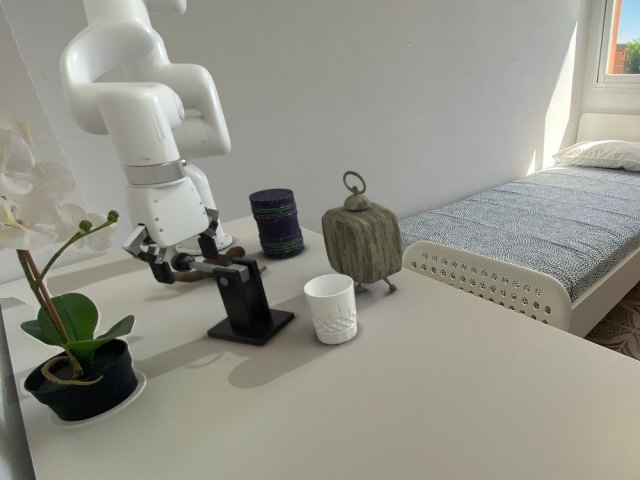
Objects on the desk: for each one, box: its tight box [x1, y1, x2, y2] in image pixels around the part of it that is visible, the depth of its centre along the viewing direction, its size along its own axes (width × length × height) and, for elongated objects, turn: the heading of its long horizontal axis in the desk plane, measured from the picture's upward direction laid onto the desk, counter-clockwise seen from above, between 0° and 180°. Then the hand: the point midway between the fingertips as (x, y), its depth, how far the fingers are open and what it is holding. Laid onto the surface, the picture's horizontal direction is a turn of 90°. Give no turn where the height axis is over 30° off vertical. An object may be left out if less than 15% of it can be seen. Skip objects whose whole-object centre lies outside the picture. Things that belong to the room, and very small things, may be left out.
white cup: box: [303, 273, 358, 345], centre depth 71 cm, size 8×8×10 cm
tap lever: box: [169, 252, 250, 283], centre depth 71 cm, size 14×4×4 cm, turn 76°
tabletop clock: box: [321, 170, 403, 293], centre depth 82 cm, size 14×9×25 cm, turn 50°
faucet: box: [172, 245, 268, 284], centre depth 92 cm, size 5×17×15 cm
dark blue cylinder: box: [248, 188, 306, 261], centre depth 101 cm, size 10×10×15 cm
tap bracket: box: [206, 257, 296, 347], centre depth 72 cm, size 11×9×13 cm
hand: (190, 269), depth 72 cm, fingers open, 9 cm apart
